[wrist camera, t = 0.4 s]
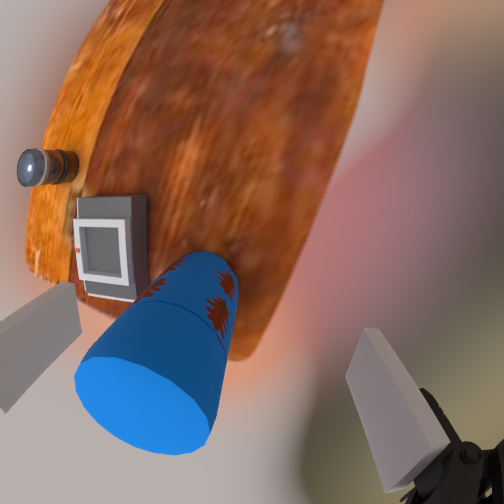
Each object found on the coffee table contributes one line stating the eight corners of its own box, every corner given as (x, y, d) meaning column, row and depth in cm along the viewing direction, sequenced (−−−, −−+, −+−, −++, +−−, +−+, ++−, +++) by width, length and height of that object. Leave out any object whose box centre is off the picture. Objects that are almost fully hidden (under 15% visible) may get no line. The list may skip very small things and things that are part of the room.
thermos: (214, 235, 37) (138, 330, 13) (253, 298, 39) (243, 443, 15) (154, 272, 39) (51, 374, 15) (194, 328, 41) (139, 459, 17)
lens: (57, 152, 34) (16, 150, 24) (80, 148, 34) (39, 144, 24) (56, 184, 36) (15, 189, 26) (79, 182, 36) (37, 186, 26)
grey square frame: (93, 195, 36) (67, 199, 30) (146, 194, 36) (125, 197, 29) (100, 284, 40) (78, 300, 33) (150, 290, 40) (132, 309, 33)
